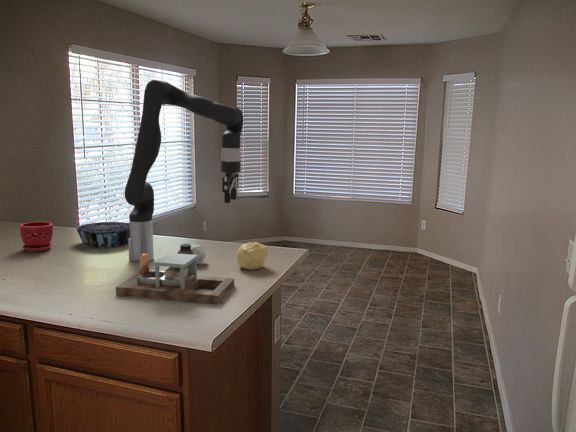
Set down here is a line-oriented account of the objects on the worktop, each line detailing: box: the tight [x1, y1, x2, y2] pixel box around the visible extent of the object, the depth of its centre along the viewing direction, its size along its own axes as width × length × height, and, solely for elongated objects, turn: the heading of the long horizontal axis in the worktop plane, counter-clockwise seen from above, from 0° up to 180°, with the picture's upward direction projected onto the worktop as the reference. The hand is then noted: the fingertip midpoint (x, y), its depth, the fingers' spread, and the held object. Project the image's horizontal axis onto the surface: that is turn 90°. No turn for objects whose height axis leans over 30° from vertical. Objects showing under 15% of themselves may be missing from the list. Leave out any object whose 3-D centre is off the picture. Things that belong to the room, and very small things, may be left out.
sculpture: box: [236, 241, 269, 271], centre depth 194 cm, size 11×12×11 cm
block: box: [164, 267, 188, 280], centre depth 165 cm, size 6×6×5 cm
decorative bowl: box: [75, 221, 130, 249], centre depth 229 cm, size 26×28×10 cm
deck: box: [115, 271, 235, 305], centre depth 166 cm, size 36×18×3 cm, turn 80°
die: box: [190, 244, 207, 266], centre depth 198 cm, size 8×9×10 cm
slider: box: [137, 253, 194, 287], centre depth 165 cm, size 18×9×9 cm, turn 80°
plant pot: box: [19, 221, 54, 253], centre depth 215 cm, size 13×13×12 cm
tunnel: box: [153, 252, 198, 289], centre depth 165 cm, size 11×12×9 cm
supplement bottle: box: [177, 243, 193, 255], centre depth 185 cm, size 6×6×11 cm
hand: (230, 201), depth 186 cm, fingers open, 8 cm apart
